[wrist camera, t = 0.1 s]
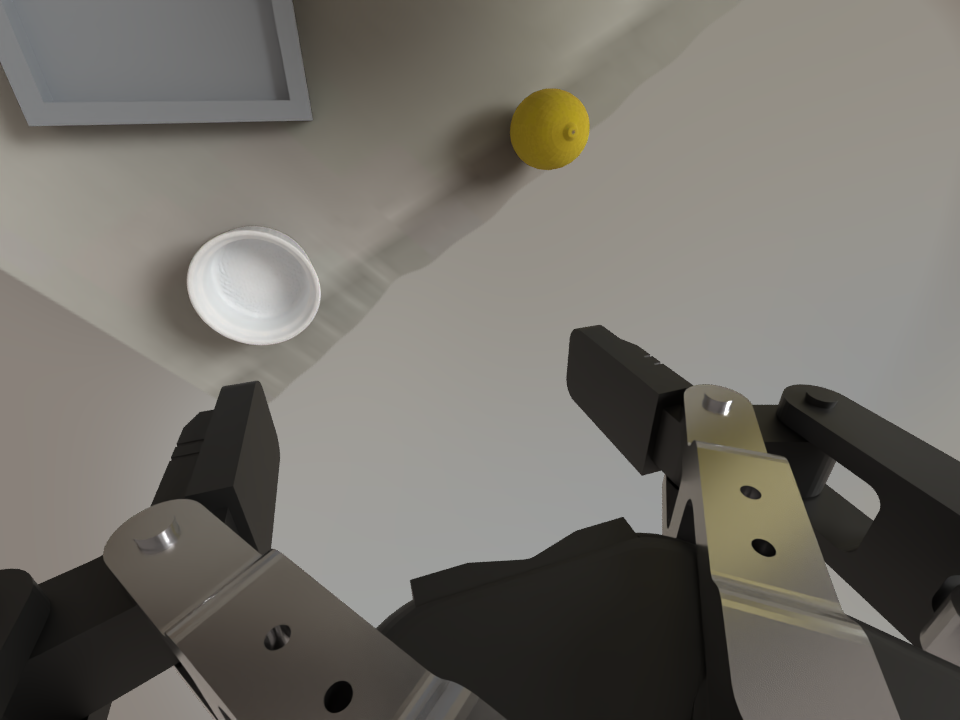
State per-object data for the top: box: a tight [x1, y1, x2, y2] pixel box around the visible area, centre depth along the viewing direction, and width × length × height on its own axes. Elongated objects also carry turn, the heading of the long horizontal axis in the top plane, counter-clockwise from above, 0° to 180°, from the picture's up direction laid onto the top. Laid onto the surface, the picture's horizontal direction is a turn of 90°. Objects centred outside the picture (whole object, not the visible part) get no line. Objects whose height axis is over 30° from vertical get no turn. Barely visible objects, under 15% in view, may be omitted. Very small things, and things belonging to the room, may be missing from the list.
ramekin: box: [187, 226, 321, 345], centre depth 35 cm, size 9×9×4 cm
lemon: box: [510, 89, 590, 170], centre depth 34 cm, size 6×6×8 cm
